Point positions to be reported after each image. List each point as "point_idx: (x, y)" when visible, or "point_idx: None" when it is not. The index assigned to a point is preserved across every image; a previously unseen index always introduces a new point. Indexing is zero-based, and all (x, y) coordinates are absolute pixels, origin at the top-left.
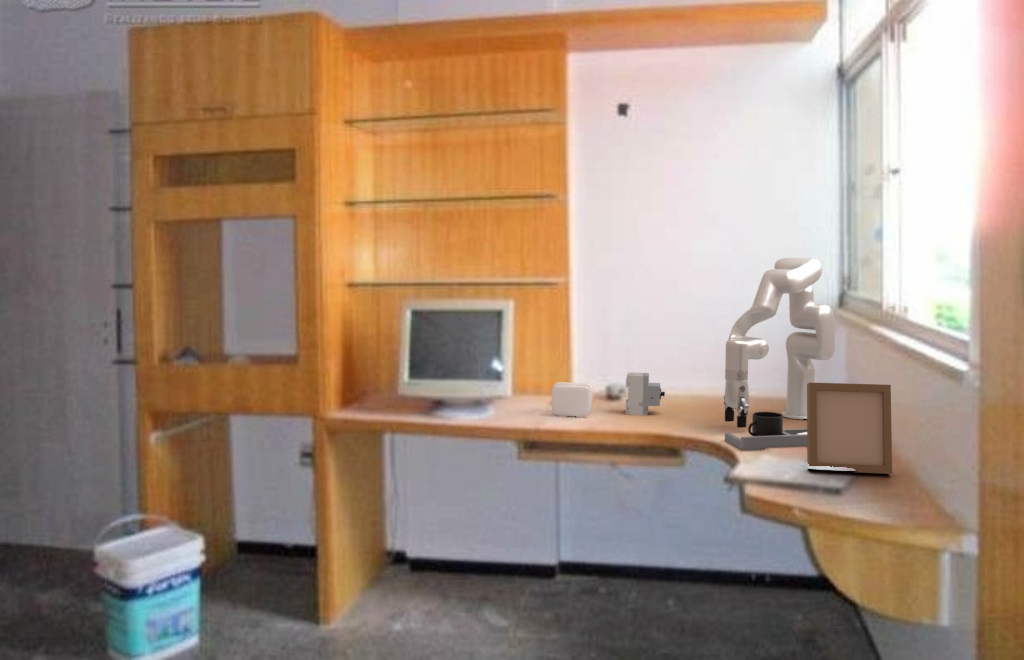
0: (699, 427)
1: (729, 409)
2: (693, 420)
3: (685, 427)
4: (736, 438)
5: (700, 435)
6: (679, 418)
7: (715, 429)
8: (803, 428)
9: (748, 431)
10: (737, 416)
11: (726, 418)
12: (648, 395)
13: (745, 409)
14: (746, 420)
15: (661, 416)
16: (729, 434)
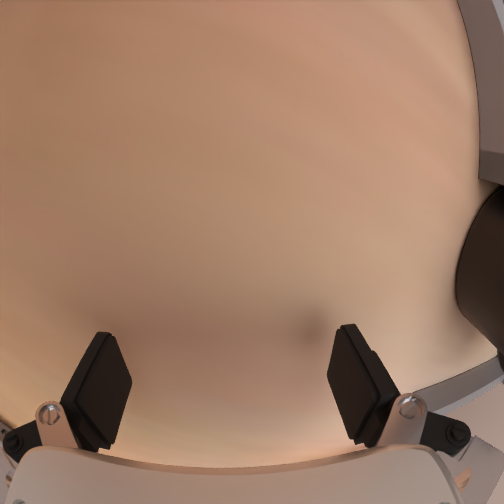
0: (150, 432)
1: (91, 437)
2: (26, 389)
3: (157, 457)
4: (482, 393)
5: (301, 454)
6: (19, 405)
7: (191, 404)
8: (495, 8)
9: (501, 367)
10: (361, 440)
11: (127, 395)
12: None
13: (470, 453)
14: (376, 359)
15: (19, 423)
16: (441, 413)
